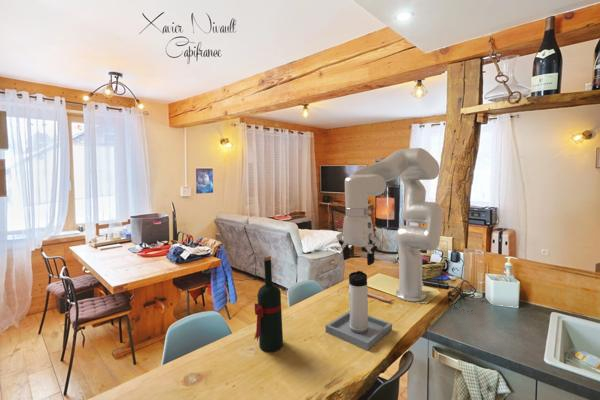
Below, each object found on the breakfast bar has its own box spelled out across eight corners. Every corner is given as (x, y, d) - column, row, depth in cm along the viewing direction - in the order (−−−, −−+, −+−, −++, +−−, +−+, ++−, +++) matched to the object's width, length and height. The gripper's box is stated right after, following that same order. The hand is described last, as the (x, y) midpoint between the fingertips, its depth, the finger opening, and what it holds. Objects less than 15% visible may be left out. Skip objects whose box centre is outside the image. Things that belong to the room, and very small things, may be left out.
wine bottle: (248, 348, 97) (244, 258, 95) (272, 336, 105) (268, 251, 102) (264, 358, 92) (259, 263, 89) (288, 344, 99) (284, 255, 96)
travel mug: (369, 326, 107) (369, 271, 106) (365, 335, 101) (364, 277, 100) (352, 322, 110) (351, 269, 108) (347, 331, 104) (346, 275, 102)
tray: (351, 315, 117) (351, 309, 117) (392, 330, 106) (391, 323, 105) (325, 332, 106) (325, 325, 106) (367, 350, 94) (367, 343, 94)
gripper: (385, 212, 99) (386, 263, 100) (342, 209, 111) (344, 254, 112) (373, 216, 93) (375, 269, 95) (329, 212, 105) (331, 259, 107)
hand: (358, 261), depth 104 cm, fingers open, 9 cm apart
